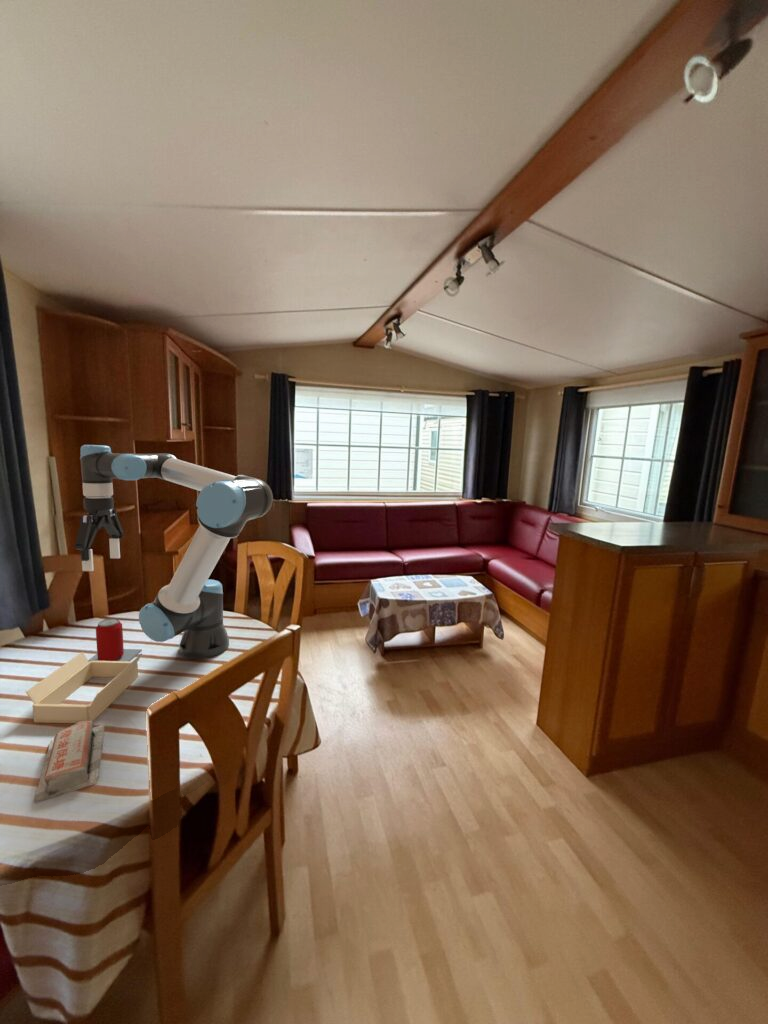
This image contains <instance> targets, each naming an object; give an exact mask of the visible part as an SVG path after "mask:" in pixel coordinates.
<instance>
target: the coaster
mask: <svg viewBox="0 0 768 1024" xmlns="http://www.w3.org/2000/svg"><path fill="white" fill-rule="evenodd" d="M142 650H143V649H142V648H141V649H140V648H137V649H135V648H124V654H123V656H122V657H120V658H119V659H118V660H115V661H130V662H132V660H133V659H134V658H135V657H136V656H138V655H139V654H141V652H142ZM88 661H89V662H90V661H99V660H98V656H97V653H96V654H94V655H92V657H90V658H89V659H88Z"/></svg>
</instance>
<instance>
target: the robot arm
mask: <svg viewBox="0 0 768 1024" xmlns="http://www.w3.org/2000/svg"><path fill="white" fill-rule="evenodd" d="M79 460H80V468H81V469H80V472H81V482H82V495H83V496H84V498H82V499H83V501H82V502H83V503H82V504H83V509H84V510H85V511H87V512H88V513H87V514H88V515H85V514H84V515H83V514H82V515H80V516H79V517H80V518H79V520H80V521H79V522H80V523H79V528H78V532H77V536H76V539H75V543H74V547H73V548H74V549H75V550H78V551H80V556H81V557H80V559H81V567H82V572H93V571H95V570H94V554H93V553H94V552H93V549H92V548H91V547H92V545H93V543H94V540H95V537H96V535H97V532H98V531H99V530H100V529H101V528H102V527H103V528H104V529H105V530H106V533H107V534H108V535H109V537H110V538H108V541H109V558H110V559H121V551H120V550H121V549H120V547H121V546H120V544H121V543H120V539H123V537H124V534H125V532H124V530H123V527H122V525H121V522H120V519H119V516H118V512H117V509H116V508H115V507H114V506H115V504H114V503H115V502H114V497H113V495H114V487H113V485H114V484H113V482H114V481H113V480H115V479H116V480H121V481H122V480H123V481H127V482H128V481H138V480H140V479H150V478H152V479H153V478H154V479H155V478H158V479H160V480H164V481H168V482H171V483H173V484H177V485H181V486H183V487H187V488H190V489H192V490H196V491H199V494H198V495H197V499H196V502H195V507H197V509H196V513H197V521H198V524H199V527H198V528H197V531H196V532H195V534H194V536H193V538H192V540H191V542H190V544H189V546H188V547H187V550H186V551H185V553H184V555H183V557H182V559H181V560H180V563H179V565H178V567H177V569H176V570H175V573H174V575H173V576H172V578H171V580H170V583H168V584H166V585H164V586H163V587H161V588H160V589H159V591H158V592H157V595H156V596H155V598H154V601H152V602H151V603H146V604H145V605H144V606H142V607H141V609H140V610H139V613H138V621H139V625H140V627H141V630H142V631H143V633H144V634H145V636H147V638H149V639H150V640H151V641H153V642H157V643H158V642H160V643H164V642H166V641H168V640H171V639H173V638H175V637H176V636H179V635H180V634H182V635H181V638H180V642H179V645H178V646H179V654H180V655H181V656H182V657H185V658H187V659H193V660H201V659H208V658H212V657H216V656H217V655H220V654H222V653H223V652H225V651H226V650H227V649H228V648H229V645H230V638H229V635H228V632H227V629H226V628H225V625H224V592H223V584H222V583H221V582H220V581H219V580H215V579H212V578H211V579H209V578H210V576H211V574H212V572H213V570H214V569H215V567H216V565H217V564H218V562H219V561H220V558H221V556H223V555H222V554H223V552H224V551H225V550H226V548H227V546H228V544H229V542H230V540H231V539H234V538H237V537H238V536H240V534H241V533H242V531H243V529H244V527H245V526H246V524H247V522H248V521H251V520H255V519H258V518H262V517H263V516H264V515H266V514H267V513H268V512H269V511H270V510H271V508H272V505H273V501H274V500H273V498H274V495H273V492H272V489H271V487H270V485H268V484H267V482H265V481H264V480H262V479H259V478H256V477H252V476H248V475H245V474H238V475H236V476H235V475H232V474H229V473H226V472H222V471H219V470H215V469H212V468H208V467H205V466H202V465H200V464H199V465H198V464H195V463H191V462H188V461H184V460H181V459H178V458H177V457H176V456H175V455H173V454H171V453H163V452H161V453H116V452H115V453H114V452H112V449H111V446H108V445H103V444H100V445H99V444H83V445H82V446H80V457H79Z"/></svg>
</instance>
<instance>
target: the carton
mask: <svg viewBox="0 0 768 1024" xmlns="http://www.w3.org/2000/svg"><path fill="white" fill-rule="evenodd" d="M142 655H143V653H139V654H138V655H137V657H136V658H135V659H134V660H133V661H90V662H89V661H88V660H89V659H88V658H87V657H86V655H85V654H84V652H83V651H82V652H80V653H78V654H77V655H75V656H74V657H73V658H71V659H70V660H68V661H67V662H66V663H64V664H63V665H61V666H60V667H58V668H57V669H56V670H54V671H53V672H52V673H50V674H48V676H46V677H45V678H43V679H42V680H41V681H39V682H37V683H36V684H35V685H33V686H32V687H30V688H29V689H27V690H26V691H25V693H26V694H27V696H28V697H29V698H30V700H31V701H32V703H33V704H32V713H33V714H32V715H33V723H48V724H49V723H50V724H51V723H54V724H56V723H57V724H76V723H78V722H81V721H92V723H93V722H94V721H95V720H96V719H97V718H98V717H99V716H101V714H102V713H103V712H104V711H105V710H106V709H107V708H108V707H109V706H110V705H111V704H112V703H113V702H114V701H115V700H116V699H117V698H119V696H120V695H121V694H122V693H124V692H125V690H126V689H127V688H129V686H131V684H132V683H134V681H136V680H137V678H139V666H138V665H139V664H138V662H139V660H140V658H141V657H142ZM95 677H96V678H112V680H110V681H109V682H108V683H107V684H106V685H105V686H104V687H103V688H101V689H100V690H99V691H98V692H97V694H96V695H95V697H94V699H93V700H92V701H91V702H90V703H89V704H78V703H77V704H71V703H70V704H69V703H68V704H67V703H62V702H64V700H66V699H67V698H68V697H70V695H72V694H74V692H76V691H77V690H78V689H79V688H81V686H83V685H84V684H85V683H87V682H88V681H89V680H90V679H91V678H95Z"/></svg>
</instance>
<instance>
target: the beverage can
mask: <svg viewBox="0 0 768 1024" xmlns="http://www.w3.org/2000/svg"><path fill="white" fill-rule="evenodd" d="M123 633H124V631H123V624H122V622H121V621H120V619H119V618H116V617H111V618H106V619H102V620H100V621H98V624H97V626H96V628H95V639H96V654H97V656H98V660H99V661H115V660H118V659H119V658H120V657H122V656H123V654H124V649H125V648H124V634H123Z"/></svg>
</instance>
